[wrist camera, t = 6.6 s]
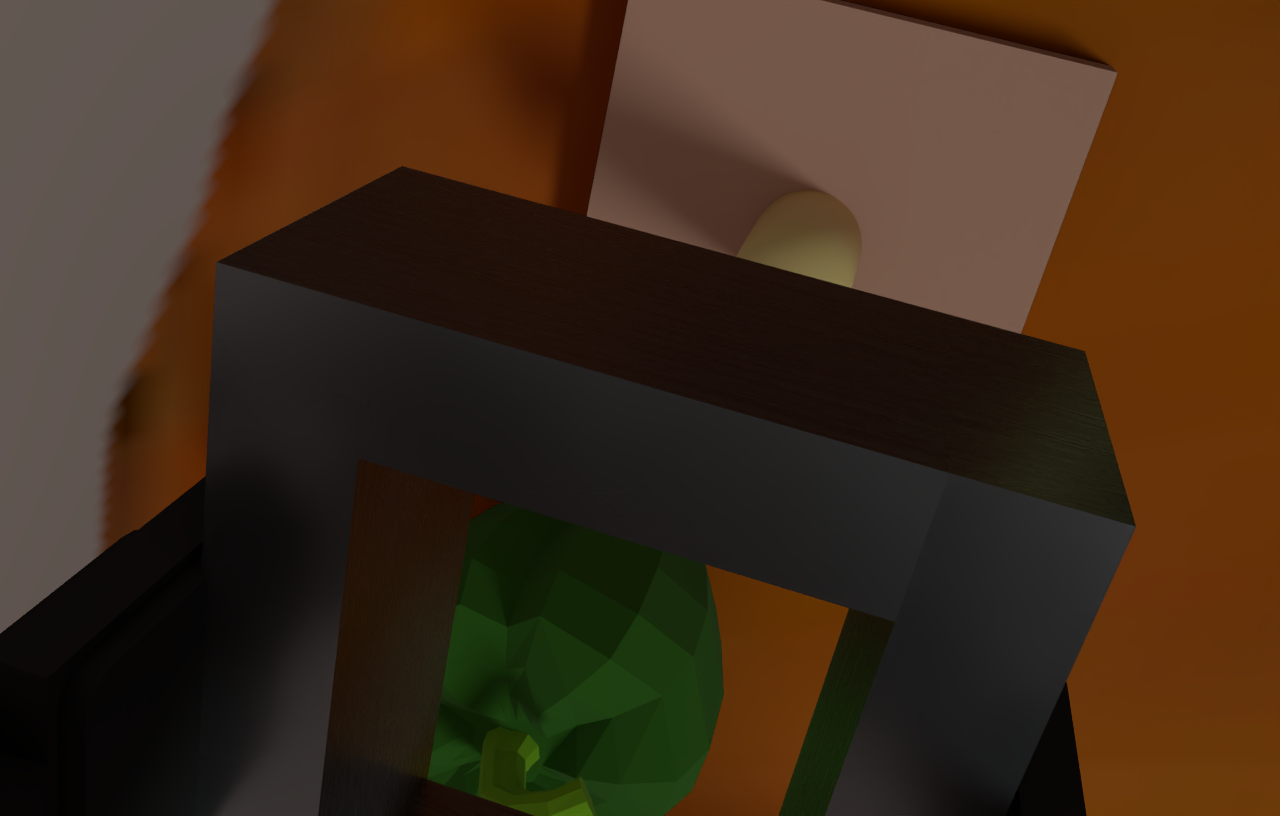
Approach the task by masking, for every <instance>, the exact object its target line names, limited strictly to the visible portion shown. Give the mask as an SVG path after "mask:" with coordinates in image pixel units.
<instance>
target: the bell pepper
mask: <svg viewBox="0 0 1280 816" xmlns="http://www.w3.org/2000/svg"><path fill="white" fill-rule="evenodd" d="M723 695H724V690H723V670H722V650H721V639H720V632H719V626H718V619H717V612H716V607H715V602H714V598H713V594H712V590H711V586H710V581H709V577H708V573H707V569H706V564H703V563H700V562H697V561H693V560H690V559H687V558H684V557H680V556H677V555H674V554H670V553H667V552H664V551H661V550H657V549H654V548H651V547H647V546H644V545H641V544H638V543H634V542H631V541H628V540H624V539H621V538H618V537H615V536H611V535H608V534H605V533H602V532H598V531H595V530H592V529H588V528H585V527H582V526H579V525H575V524H572V523H569V522H565V521H562V520H559V519H556V518H552V517H549V516H546V515H542V514H539V513H536V512H533V511H529V510H526V509H523V508H520V507H516V506H513V505H510V504H506V503H503V502H502V503H500V504H498V505H496V506H494V507H492V508H489V509H488V510H486V511H484V512H483V513H481V514H480V515H478V516H476V517H475V518H473V519H472V520H470V523H469V529H468V535H467V541H466V547H465V554H464V560H463V566H462V572H461V578H460V584H459V590H458V596H457V602H456V609H455V615H454V621H453V627H452V633H451V639H450V645H449V651H448V657H447V664H446V670H445V676H444V682H443V688H442V694H441V700H440V706H439V712H438V718H437V725H436V731H435V737H434V743H433V749H432V755H431V761H430V767H429V773H428V780H431V781H434V782H437V783H439V784H442V785H445V786H448V787H451V788H454V789H457V790H460V791H463V792H466V793H469V794H472V795H475V796H478V797H481V798H484V799H487V800H490V801H493V802H496V803H499V804H502V805H505V806H508V807H510V808H513V809H516V810H519V811H522V812H525V813H528V814H531V815H534V816H664V815H665V814H666V813H667V812H668V811H669V810H670V809H672V808H673V807H674V806H675V805H676V804H677V803H678V802H680V801H681V800H682V799H683V798H684V797H685V796H686V795H688V794H689V793H690V792H691V791H692V789H693V786H694V784H695V782H696V779H697V777H698V775H699V772H700V770H701V768H702V765H703V763H704V760H705V758H706V756H707V753H708V751H709V749H710V745H711V741H712V737H713V733H714V729H715V726H716V722H717V718H718V714H719V710H720V706H721V702H722V699H723Z"/></svg>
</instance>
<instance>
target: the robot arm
mask: <svg viewBox="0 0 1280 816" xmlns="http://www.w3.org/2000/svg"><path fill="white" fill-rule="evenodd" d="M205 483H206V476H205V477H204V478H203V479H202V480H200V481H199V482H198V483H197V484H195V485H194V486H193V487H192V488H190V489H189V490H188V491H187V492H185V493H184V494H183V495H182V496H180V497H179V498H178V499H177V500H175V501H174V502H173V503H171V504H170V505H169V506H168V507H166V508H165V509H164V510H163V511H161V512H160V513H159V514H158V515H156V516H155V517H154V518H153V519H151V520H150V521H149V522H148V523H146V524H145V525H144V526H143V527H141V528H140V529H139V530H134V531H132V532H130V533H129V534H127V535H125V536H124V537H122V538H121V539H119V540H118V541H117V542H116V543H114V544H113V545H112V546H111V547H109V548H108V549H107V550H105V551H104V552H103V553H102V554H100V555H99V556H98V557H97V558H95V559H94V560H93V561H92V562H90V563H89V564H88V565H87V566H85V567H84V568H83V569H81V570H80V571H79V572H78V573H76V574H75V575H74V576H73V577H71V578H70V579H69V580H68V581H66V582H65V583H64V584H63V585H61V586H60V587H59V588H58V589H56V590H55V591H54V592H52V593H51V594H50V595H49V596H48V597H46V598H45V599H44V600H42V601H41V602H40V603H39V604H37V605H36V606H35V607H34V608H32V609H31V610H30V611H28V612H27V613H26V614H25V615H23V616H22V617H21V618H20V619H19V620H17V621H16V622H15V623H13V624H12V625H11V626H10V627H8V628H7V629H6V630H5V631H3V632H2V633H1V634H0V816H196V805H197V786H198V767H199V749H200V730H201V711H202V692H203V674H204V655H205V636H206V618H207V599H208V580H209V576H208V575H205V574H202V573H201V565H202V544H203V524H204V504H205ZM1005 816H1086V809H1085V802H1084V796H1083V789H1082V782H1081V775H1080V769H1079V762H1078V755H1077V748H1076V741H1075V735H1074V728H1073V721H1072V714H1071V708H1070V701H1069V694H1068V687H1067V683H1066V682H1065V685H1064V687H1063V689H1062V691H1061V694H1060V696H1059V698H1058V700H1057V702H1056V705H1055V707H1054V709H1053V711H1052V714H1051V716H1050V718H1049V720H1048V722H1047V725H1046V727H1045V729H1044V731H1043V733H1042V736H1041V738H1040V740H1039V742H1038V745H1037V747H1036V749H1035V751H1034V753H1033V756H1032V758H1031V760H1030V762H1029V764H1028V767H1027V769H1026V771H1025V773H1024V776H1023V778H1022V780H1021V782H1020V784H1019V787H1018V789H1017V791H1016V793H1015V795H1014V798H1013V800H1012V802H1011V804H1010V807H1009V809H1008V811H1007V813H1006V815H1005Z"/></svg>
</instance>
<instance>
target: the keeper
mask: <svg viewBox="0 0 1280 816" xmlns="http://www.w3.org/2000/svg"><path fill="white" fill-rule="evenodd" d="M1117 73H1118V72H1117V71H1116V70H1115V69H1114V68H1113V67H1112V66H1109V65H1105V64H1100V63H1096V62H1092V61H1088V60H1084V59H1080V58H1076V57H1072V56H1068V55H1063V54H1059V53H1055V52H1051V51H1047V50H1043V49H1039V48H1035V47H1031V46H1027V45H1022V44H1018V43H1014V42H1010V41H1006V40H1002V39H998V38H994V37H990V36H985V35H981V34H977V33H973V32H969V31H965V30H961V29H957V28H953V27H948V26H944V25H940V24H936V23H932V22H928V21H924V20H920V19H916V18H911V17H907V16H903V15H899V14H895V13H891V12H887V11H883V10H879V9H875V8H870V7H866V6H862V5H858V4H854V3H850V2H846V1H842V0H628V4H627V9H626V15H625V20H624V25H623V30H622V35H621V41H620V46H619V51H618V56H617V61H616V67H615V72H614V77H613V82H612V87H611V92H610V98H609V103H608V108H607V113H606V118H605V124H604V129H603V134H602V139H601V144H600V150H599V155H598V160H597V165H596V170H595V175H594V181H593V186H592V191H591V196H590V201H589V207H588V212H587V216H588V217H591V218H595V219H599V220H602V221H606V222H610V223H613V224H617V225H621V226H624V227H628V228H632V229H636V230H639V231H643V232H647V233H650V234H654V235H658V236H661V237H665V238H669V239H672V240H676V241H680V242H683V243H687V244H691V245H695V246H698V247H702V248H706V249H709V250H713V251H717V252H720V253H724V254H728V255H731V256H735V257H739V258H743V259H746V260H750V261H754V262H757V263H761V264H765V265H768V266H772V267H776V268H779V269H783V270H787V271H790V272H794V273H798V274H802V275H805V276H809V277H813V278H816V279H820V280H824V281H827V282H831V283H835V284H838V285H842V286H846V287H849V288H853V289H857V290H861V291H864V292H868V293H872V294H875V295H879V296H883V297H886V298H890V299H894V300H897V301H901V302H905V303H909V304H912V305H916V306H920V307H923V308H927V309H931V310H934V311H938V312H942V313H945V314H949V315H953V316H956V317H960V318H964V319H968V320H971V321H975V322H979V323H982V324H986V325H990V326H993V327H997V328H1001V329H1004V330H1008V331H1012V332H1016V333H1019V334H1021V332H1022V329H1023V326H1024V324H1025V321H1026V318H1027V316H1028V313H1029V310H1030V307H1031V305H1032V302H1033V299H1034V297H1035V294H1036V291H1037V289H1038V286H1039V283H1040V281H1041V278H1042V275H1043V272H1044V270H1045V267H1046V264H1047V262H1048V259H1049V256H1050V254H1051V251H1052V248H1053V246H1054V243H1055V240H1056V237H1057V235H1058V232H1059V229H1060V227H1061V224H1062V221H1063V219H1064V216H1065V213H1066V211H1067V208H1068V205H1069V202H1070V200H1071V197H1072V194H1073V192H1074V189H1075V186H1076V184H1077V181H1078V178H1079V176H1080V173H1081V170H1082V167H1083V165H1084V162H1085V159H1086V157H1087V154H1088V151H1089V149H1090V146H1091V143H1092V141H1093V138H1094V135H1095V132H1096V130H1097V127H1098V124H1099V122H1100V119H1101V116H1102V114H1103V111H1104V108H1105V106H1106V103H1107V100H1108V97H1109V95H1110V92H1111V89H1112V87H1113V84H1114V81H1115V79H1116V76H1117Z"/></svg>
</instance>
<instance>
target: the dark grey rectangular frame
mask: <svg viewBox="0 0 1280 816" xmlns="http://www.w3.org/2000/svg"><path fill="white" fill-rule="evenodd" d="M474 494H477V495H480V496H483V497H487V498H490V499H493V500H497V501H500V502H503V503H506V504H510V505H513V506H516V507H520V508H523V509H526V510H529V511H533V512H536V513H539V514H542V515H546V516H549V517H552V518H556V519H559V520H562V521H565V522H569V523H572V524H575V525H579V526H582V527H585V528H588V529H592V530H595V531H598V532H602V533H605V534H608V535H611V536H615V537H618V538H621V539H624V540H628V541H631V542H634V543H638V544H641V545H644V546H647V547H651V548H654V549H657V550H661V551H664V552H667V553H670V554H674V555H677V556H680V557H684V558H687V559H690V560H693V561H697V562H700V563H703V564H706V565H710V566H713V567H716V568H720V569H723V570H726V571H729V572H733V573H736V574H739V575H743V576H746V577H749V578H752V579H756V580H759V581H762V582H766V583H769V584H772V585H775V586H779V587H782V588H785V589H788V590H792V591H795V592H798V593H802V594H805V595H808V596H811V597H815V598H818V599H821V600H825V601H828V602H831V603H834V604H838V605H841V606H844V607H848V608H849V610H848V613H847V616H846V619H845V622H844V625H843V628H842V631H841V634H840V637H839V640H838V643H837V646H836V649H835V652H834V654H833V657H832V660H831V663H830V666H829V669H828V672H827V675H826V678H825V681H824V684H823V687H822V690H821V693H820V696H819V699H818V702H817V705H816V707H815V710H814V713H813V716H812V719H811V722H810V725H809V728H808V731H807V734H806V737H805V740H804V743H803V746H802V749H801V752H800V755H799V758H798V760H797V763H796V766H795V769H794V772H793V775H792V778H791V781H790V784H789V787H788V790H787V793H786V796H785V799H784V802H783V805H782V808H781V810H780V813H779V816H1005V815H1006V813H1007V811H1008V809H1009V807H1010V804H1011V802H1012V800H1013V798H1014V795H1015V793H1016V791H1017V789H1018V787H1019V784H1020V782H1021V780H1022V778H1023V776H1024V773H1025V771H1026V769H1027V767H1028V764H1029V762H1030V760H1031V758H1032V756H1033V753H1034V751H1035V749H1036V747H1037V745H1038V742H1039V740H1040V738H1041V736H1042V733H1043V731H1044V729H1045V727H1046V725H1047V722H1048V720H1049V718H1050V716H1051V714H1052V711H1053V709H1054V707H1055V705H1056V702H1057V700H1058V698H1059V696H1060V694H1061V691H1062V689H1063V687H1064V685H1065V682H1066V680H1067V678H1068V676H1069V674H1070V671H1071V669H1072V667H1073V665H1074V663H1075V660H1076V658H1077V656H1078V654H1079V651H1080V649H1081V647H1082V645H1083V643H1084V640H1085V638H1086V636H1087V634H1088V632H1089V629H1090V627H1091V625H1092V623H1093V620H1094V618H1095V616H1096V614H1097V612H1098V609H1099V607H1100V605H1101V603H1102V601H1103V598H1104V596H1105V594H1106V592H1107V589H1108V587H1109V585H1110V583H1111V581H1112V578H1113V576H1114V574H1115V572H1116V570H1117V567H1118V565H1119V563H1120V561H1121V558H1122V556H1123V554H1124V552H1125V550H1126V547H1127V545H1128V543H1129V541H1130V539H1131V536H1132V534H1133V532H1134V530H1135V527H1136V525H1135V522H1134V519H1133V515H1132V512H1131V508H1130V505H1129V501H1128V498H1127V495H1126V491H1125V488H1124V484H1123V481H1122V477H1121V474H1120V470H1119V467H1118V464H1117V460H1116V457H1115V453H1114V450H1113V446H1112V443H1111V440H1110V436H1109V433H1108V429H1107V426H1106V422H1105V419H1104V415H1103V412H1102V409H1101V405H1100V402H1099V398H1098V395H1097V391H1096V388H1095V385H1094V381H1093V378H1092V374H1091V371H1090V367H1089V364H1088V361H1087V357H1086V354H1085V351H1082V350H1078V349H1075V348H1071V347H1067V346H1063V345H1060V344H1056V343H1052V342H1049V341H1045V340H1041V339H1038V338H1034V337H1030V336H1027V335H1023V334H1019V333H1016V332H1012V331H1008V330H1004V329H1001V328H997V327H993V326H990V325H986V324H982V323H979V322H975V321H971V320H968V319H964V318H960V317H956V316H953V315H949V314H945V313H942V312H938V311H934V310H931V309H927V308H923V307H920V306H916V305H912V304H909V303H905V302H901V301H897V300H894V299H890V298H886V297H883V296H879V295H875V294H872V293H868V292H864V291H861V290H857V289H853V288H849V287H846V286H842V285H838V284H835V283H831V282H827V281H824V280H820V279H816V278H813V277H809V276H805V275H802V274H798V273H794V272H790V271H787V270H783V269H779V268H776V267H772V266H768V265H765V264H761V263H757V262H754V261H750V260H746V259H743V258H739V257H735V256H731V255H728V254H724V253H720V252H717V251H713V250H709V249H706V248H702V247H698V246H695V245H691V244H687V243H683V242H680V241H676V240H672V239H669V238H665V237H661V236H658V235H654V234H650V233H647V232H643V231H639V230H636V229H632V228H628V227H624V226H621V225H617V224H613V223H610V222H606V221H602V220H599V219H595V218H591V217H588V216H584V215H580V214H576V213H573V212H569V211H565V210H562V209H558V208H554V207H551V206H547V205H543V204H540V203H536V202H532V201H529V200H525V199H521V198H517V197H514V196H510V195H506V194H503V193H499V192H495V191H492V190H488V189H484V188H481V187H477V186H473V185H469V184H466V183H462V182H458V181H455V180H451V179H447V178H444V177H440V176H436V175H433V174H429V173H425V172H422V171H418V170H414V169H410V168H407V167H403V166H401V167H399V168H398V169H396V170H394V171H392V172H390V173H388V174H386V175H384V176H382V177H380V178H378V179H376V180H374V181H372V182H370V183H369V184H367V185H365V186H363V187H361V188H359V189H357V190H355V191H353V192H351V193H349V194H347V195H345V196H343V197H341V198H340V199H338V200H336V201H334V202H332V203H330V204H328V205H326V206H324V207H322V208H320V209H318V210H316V211H314V212H313V213H311V214H309V215H307V216H305V217H303V218H301V219H299V220H297V221H295V222H293V223H291V224H289V225H287V226H285V227H284V228H282V229H280V230H278V231H276V232H274V233H272V234H270V235H268V236H266V237H264V238H262V239H260V240H258V241H256V242H255V243H253V244H251V245H249V246H247V247H245V248H243V249H241V250H239V251H237V252H235V253H233V254H231V255H229V256H227V257H226V258H224V259H222V260H220V261H218V262H216V281H215V301H214V321H213V341H212V362H211V382H210V402H209V423H208V443H207V463H206V483H205V504H204V524H203V544H202V565H201V573H202V574H205V575H208V576H209V580H208V599H207V618H206V636H205V655H204V674H203V692H202V711H201V730H200V749H199V767H198V786H197V805H196V816H534V815H531V814H528V813H525V812H522V811H519V810H516V809H513V808H510V807H508V806H505V805H502V804H499V803H496V802H493V801H490V800H487V799H484V798H481V797H478V796H475V795H472V794H469V793H466V792H463V791H460V790H457V789H454V788H451V787H448V786H445V785H442V784H439V783H437V782H434V781H431V780H428V773H429V767H430V761H431V755H432V749H433V743H434V737H435V731H436V725H437V718H438V712H439V706H440V700H441V694H442V688H443V682H444V676H445V670H446V664H447V657H448V651H449V645H450V639H451V633H452V627H453V621H454V615H455V609H456V602H457V596H458V590H459V584H460V578H461V572H462V566H463V560H464V554H465V547H466V541H467V535H468V529H469V523H470V517H471V511H472V505H473V499H474Z"/></svg>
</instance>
